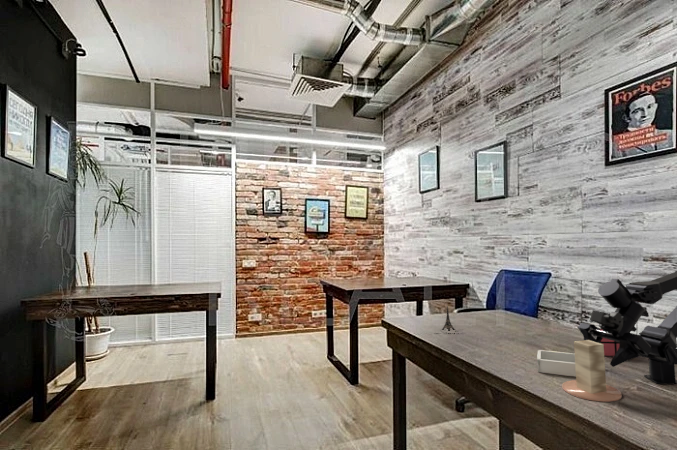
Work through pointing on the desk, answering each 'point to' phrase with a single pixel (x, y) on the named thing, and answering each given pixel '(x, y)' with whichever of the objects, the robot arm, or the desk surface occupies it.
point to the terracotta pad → (607, 396)
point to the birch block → (590, 366)
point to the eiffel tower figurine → (448, 322)
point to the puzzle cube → (608, 344)
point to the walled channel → (556, 363)
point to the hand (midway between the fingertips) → (596, 360)
